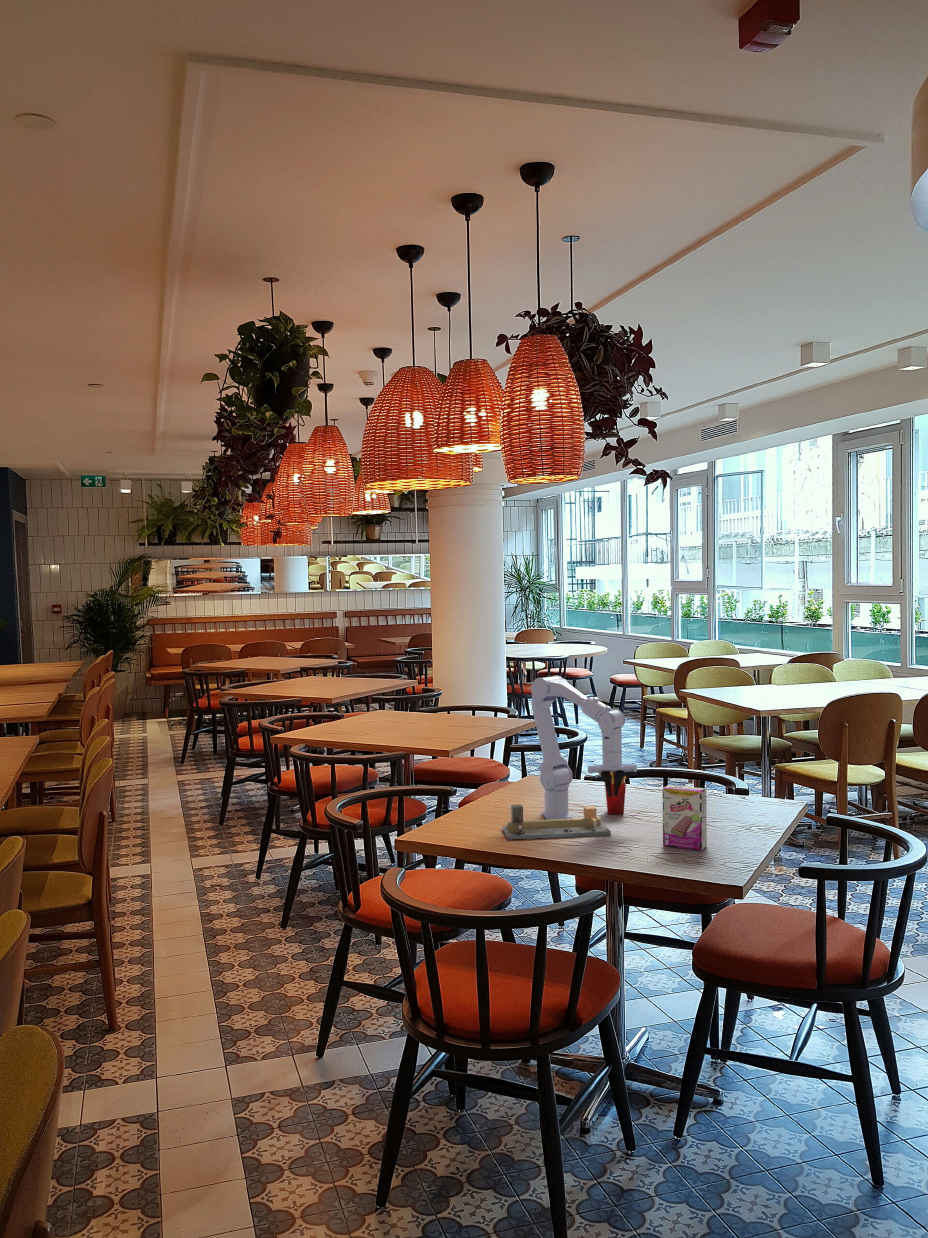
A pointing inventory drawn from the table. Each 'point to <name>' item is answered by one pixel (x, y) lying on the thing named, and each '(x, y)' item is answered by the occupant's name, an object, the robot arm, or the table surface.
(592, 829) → the bolt plate
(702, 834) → the candy bar box
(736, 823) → the table surface
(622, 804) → the french fries
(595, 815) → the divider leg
